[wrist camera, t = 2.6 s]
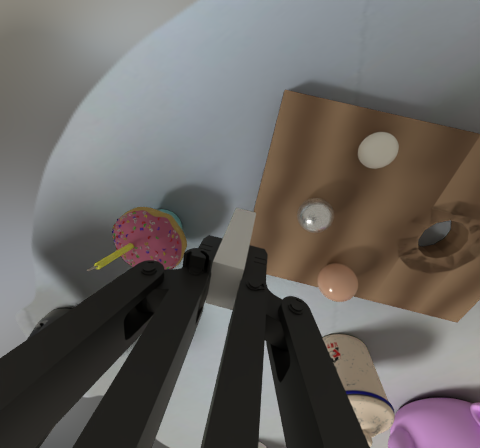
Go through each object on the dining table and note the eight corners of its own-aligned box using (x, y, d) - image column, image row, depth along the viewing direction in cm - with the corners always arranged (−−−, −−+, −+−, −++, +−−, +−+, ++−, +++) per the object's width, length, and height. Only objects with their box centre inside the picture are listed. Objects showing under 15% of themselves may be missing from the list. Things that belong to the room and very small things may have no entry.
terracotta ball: (309, 279, 28) (315, 304, 24) (322, 252, 26) (330, 275, 22) (342, 287, 28) (353, 314, 24) (357, 261, 26) (371, 285, 22)
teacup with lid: (325, 324, 34) (347, 415, 24) (380, 343, 34) (426, 441, 24) (294, 366, 40) (301, 455, 29) (341, 382, 40) (365, 476, 30)
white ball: (347, 160, 21) (358, 167, 19) (361, 127, 20) (375, 129, 17) (378, 168, 21) (393, 175, 18) (395, 134, 20) (414, 138, 17)
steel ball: (291, 219, 25) (294, 234, 22) (301, 189, 23) (306, 201, 20) (322, 226, 25) (329, 242, 21) (334, 197, 23) (344, 210, 20)
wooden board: (242, 256, 31) (239, 267, 29) (283, 92, 22) (285, 89, 19) (443, 307, 30) (457, 322, 28) (575, 158, 21) (611, 163, 19)
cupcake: (126, 224, 31) (49, 281, 20) (156, 181, 28) (82, 222, 17) (175, 261, 33) (127, 332, 22) (209, 225, 29) (173, 288, 19)
